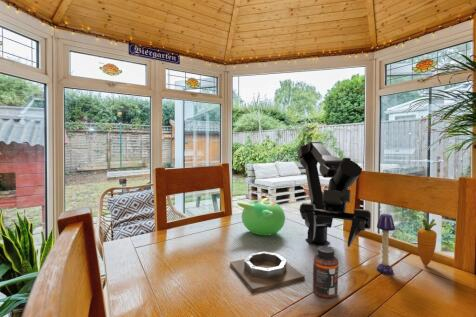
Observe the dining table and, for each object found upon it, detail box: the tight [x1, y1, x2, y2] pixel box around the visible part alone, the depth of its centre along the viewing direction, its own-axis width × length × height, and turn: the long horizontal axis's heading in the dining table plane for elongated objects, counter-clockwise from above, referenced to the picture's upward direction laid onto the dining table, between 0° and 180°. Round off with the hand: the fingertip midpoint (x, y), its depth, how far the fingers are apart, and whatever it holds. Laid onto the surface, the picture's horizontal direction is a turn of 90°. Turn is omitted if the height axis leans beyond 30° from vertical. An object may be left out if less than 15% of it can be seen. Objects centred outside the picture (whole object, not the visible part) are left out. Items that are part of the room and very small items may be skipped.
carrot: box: [416, 217, 437, 267], centre depth 80 cm, size 5×5×15 cm
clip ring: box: [244, 251, 288, 280], centre depth 77 cm, size 12×12×2 cm
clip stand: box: [229, 258, 306, 294], centre depth 77 cm, size 16×16×1 cm
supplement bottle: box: [312, 245, 339, 299], centre depth 66 cm, size 6×6×11 cm
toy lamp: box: [376, 213, 396, 275], centre depth 77 cm, size 5×5×17 cm
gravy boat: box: [237, 197, 286, 236], centre depth 108 cm, size 18×17×15 cm
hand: (329, 242), depth 70 cm, fingers open, 9 cm apart
